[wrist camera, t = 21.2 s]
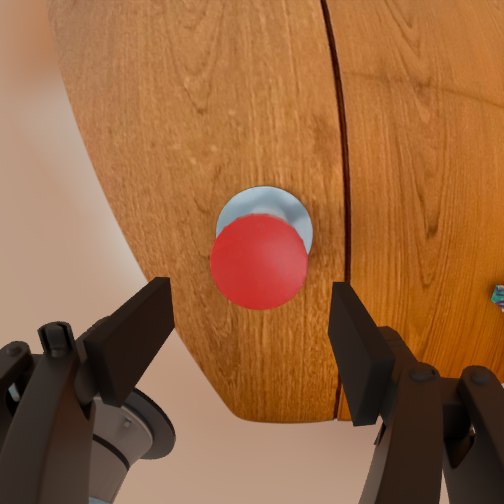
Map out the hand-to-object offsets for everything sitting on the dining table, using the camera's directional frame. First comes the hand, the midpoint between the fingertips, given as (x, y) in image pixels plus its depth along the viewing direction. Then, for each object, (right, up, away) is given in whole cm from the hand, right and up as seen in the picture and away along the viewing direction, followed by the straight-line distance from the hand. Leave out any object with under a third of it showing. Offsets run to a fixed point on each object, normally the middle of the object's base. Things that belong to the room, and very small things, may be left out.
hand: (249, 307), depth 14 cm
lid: (+1, +2, +8) cm, 8 cm away
